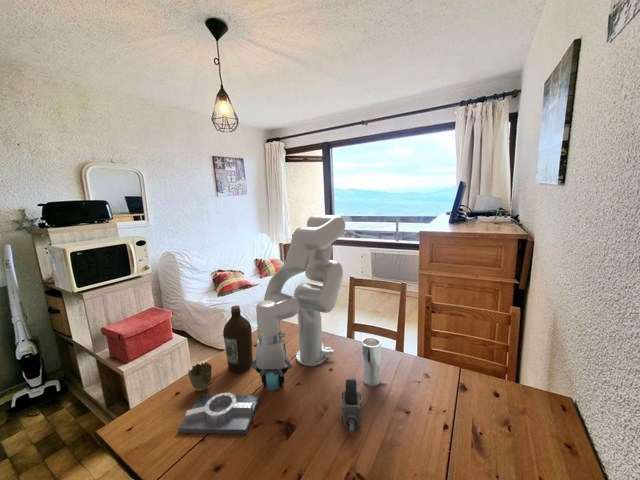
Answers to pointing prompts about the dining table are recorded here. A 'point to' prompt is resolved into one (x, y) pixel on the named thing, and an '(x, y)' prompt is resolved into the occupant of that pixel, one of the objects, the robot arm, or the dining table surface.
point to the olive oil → (238, 342)
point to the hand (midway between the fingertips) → (273, 383)
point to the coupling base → (224, 426)
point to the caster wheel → (351, 406)
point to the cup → (200, 376)
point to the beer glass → (371, 360)
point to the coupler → (272, 379)
